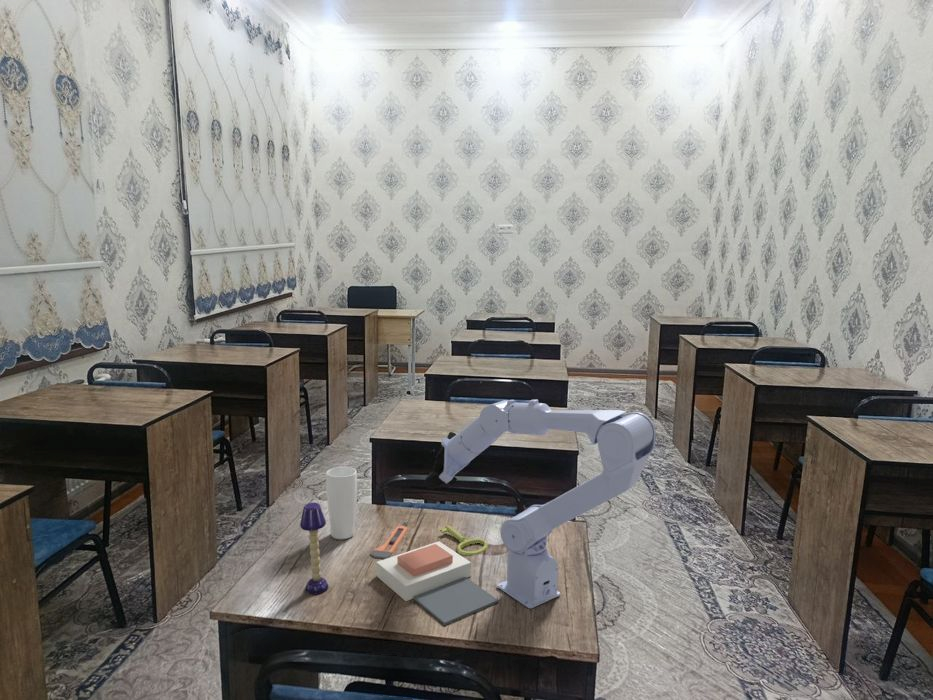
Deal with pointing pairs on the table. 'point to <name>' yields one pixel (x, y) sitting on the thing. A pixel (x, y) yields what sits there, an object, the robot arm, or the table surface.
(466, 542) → the key
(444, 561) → the pink rubber eraser
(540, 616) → the table surface
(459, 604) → the mat
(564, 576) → the table surface
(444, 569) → the white rectangular block
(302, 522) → the toy lamp
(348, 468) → the drinking glass
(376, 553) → the utility knife
